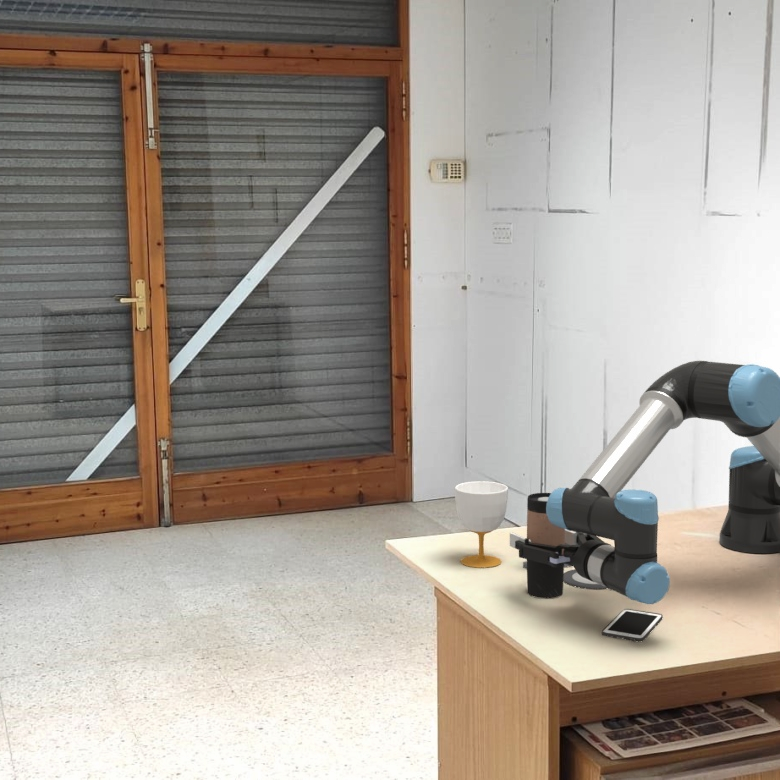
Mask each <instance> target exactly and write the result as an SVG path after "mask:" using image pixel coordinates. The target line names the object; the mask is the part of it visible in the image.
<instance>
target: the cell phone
mask: <svg viewBox="0 0 780 780" xmlns="http://www.w3.org/2000/svg"><path fill="white" fill-rule="evenodd" d="M663 616H664V615H663V614H662V613H658V612H652V611H646V610H639V609H633V608H624V609H622V610H621V611H620V612H619V613H618V614H617V615H616V616H615V617H614V618H613V619H612V620H611V621H610V622H609V623H608V625H606V626H605V627H604V628H603V630H602V631H601V635H602V636H603V637H608V638H614V639H622V638H623V639H622V640H624V639H626V640H625V641H630V640H633V641H632V642H636V641H638V643H641V641H642V642H644V641H645V640H646V639H647V638H648V637H649V635H650V634H651V633H652V632H653V631H654V630H655V628H656V627H658V625H659V624H660V622H661V621H662V620H663V619H662V618H664V617H663ZM658 623H659V624H658ZM652 630H653V631H652ZM651 631H652V632H651ZM650 632H651V633H650ZM645 638H646V639H645ZM643 640H644V641H643Z"/></svg>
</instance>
